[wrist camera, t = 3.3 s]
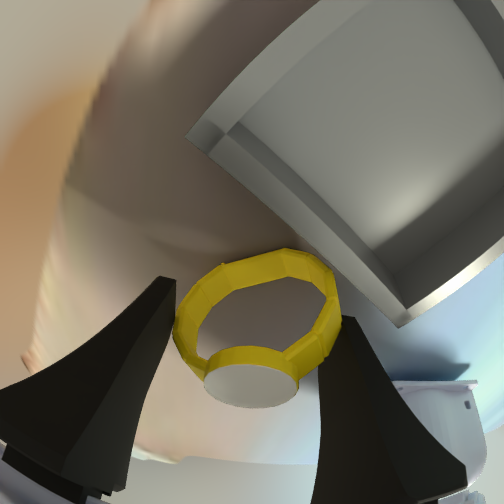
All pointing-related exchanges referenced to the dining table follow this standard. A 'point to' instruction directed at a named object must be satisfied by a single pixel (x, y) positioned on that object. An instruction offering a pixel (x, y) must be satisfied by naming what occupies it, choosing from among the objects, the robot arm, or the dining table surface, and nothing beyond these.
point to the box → (377, 141)
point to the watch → (254, 357)
